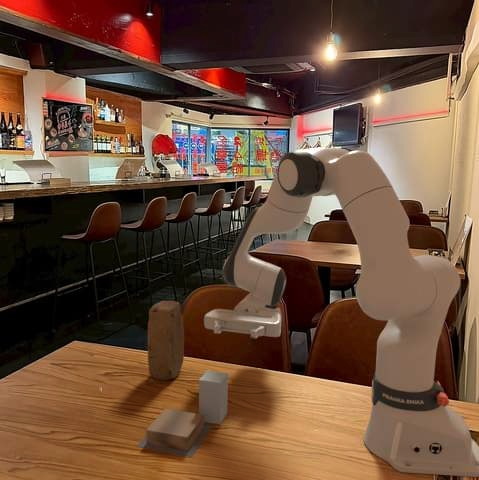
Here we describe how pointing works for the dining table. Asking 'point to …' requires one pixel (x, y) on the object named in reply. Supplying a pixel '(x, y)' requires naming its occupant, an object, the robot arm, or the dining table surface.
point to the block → (165, 340)
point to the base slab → (175, 429)
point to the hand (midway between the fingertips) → (234, 332)
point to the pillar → (213, 396)
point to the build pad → (175, 451)
